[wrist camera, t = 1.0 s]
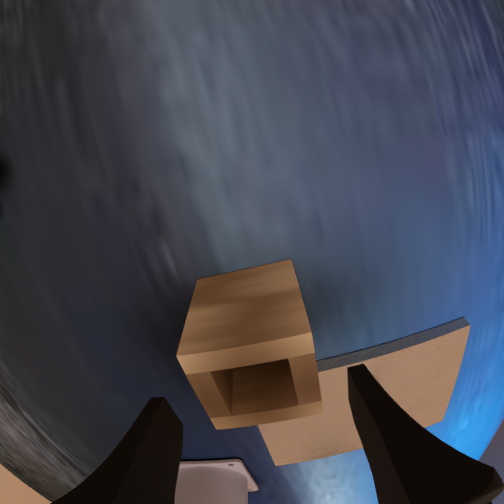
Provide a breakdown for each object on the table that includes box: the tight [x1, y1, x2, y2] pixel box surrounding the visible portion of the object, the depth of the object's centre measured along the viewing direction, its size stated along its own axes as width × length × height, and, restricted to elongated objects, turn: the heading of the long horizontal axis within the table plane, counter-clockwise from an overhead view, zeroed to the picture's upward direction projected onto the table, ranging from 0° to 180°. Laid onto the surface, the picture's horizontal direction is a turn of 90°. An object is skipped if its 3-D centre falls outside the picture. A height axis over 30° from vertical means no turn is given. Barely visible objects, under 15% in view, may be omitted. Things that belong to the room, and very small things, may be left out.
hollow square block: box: [176, 259, 324, 430], centre depth 15 cm, size 5×5×6 cm
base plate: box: [258, 317, 470, 466], centre depth 19 cm, size 16×12×5 cm
